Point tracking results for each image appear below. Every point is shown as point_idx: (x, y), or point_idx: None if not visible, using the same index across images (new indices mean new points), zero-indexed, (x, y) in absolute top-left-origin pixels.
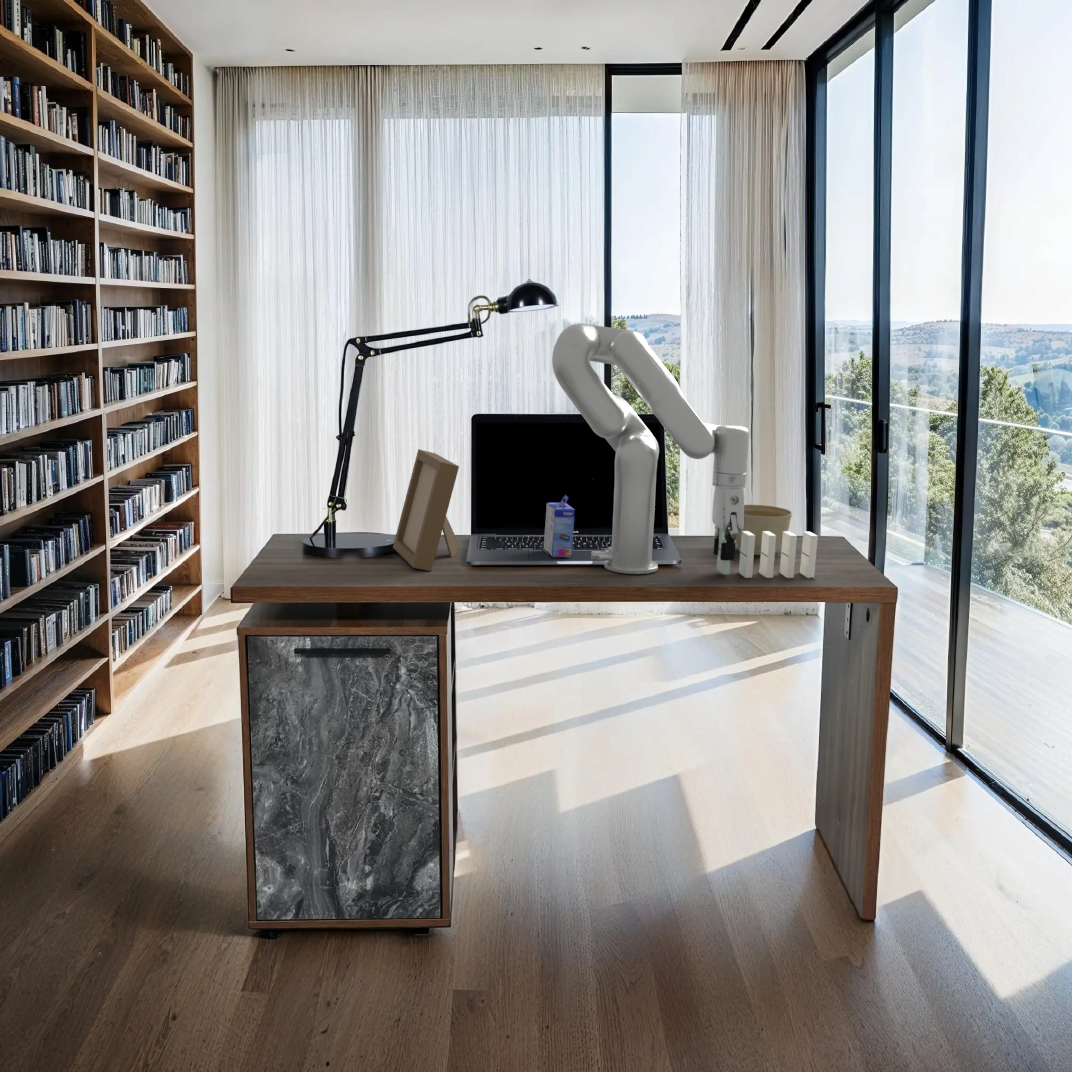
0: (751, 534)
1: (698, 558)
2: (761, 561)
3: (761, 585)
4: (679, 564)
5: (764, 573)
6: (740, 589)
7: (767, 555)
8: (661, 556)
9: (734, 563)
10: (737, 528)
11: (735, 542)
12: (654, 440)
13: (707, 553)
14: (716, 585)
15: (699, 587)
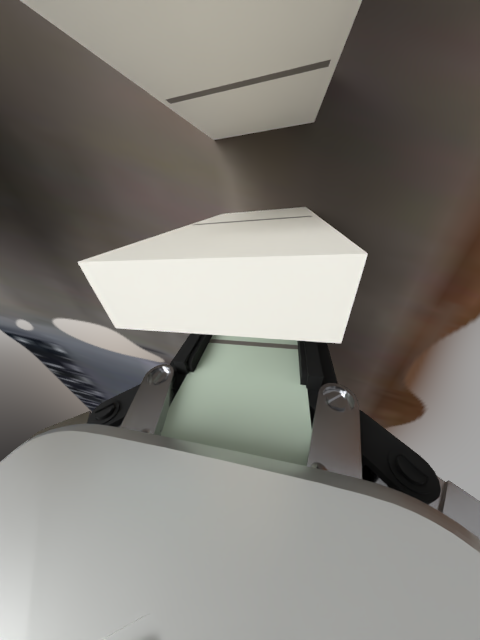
0: (286, 290)
1: (97, 306)
2: (212, 118)
3: (457, 197)
4: (172, 357)
5: (285, 123)
6: (472, 305)
7: (326, 58)
8: (119, 364)
9: (100, 219)
10: (252, 456)
11: (354, 396)
12: None
13: (29, 269)
14: (383, 352)
15: (389, 388)
